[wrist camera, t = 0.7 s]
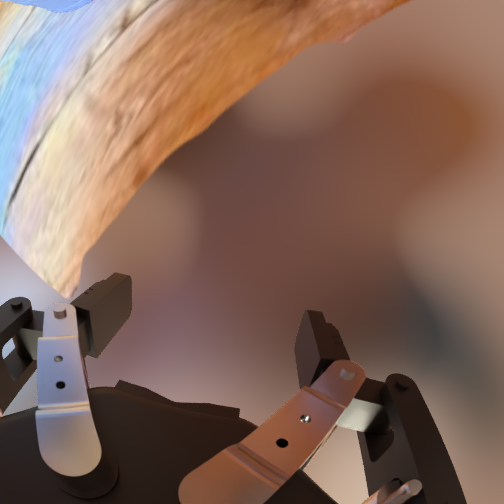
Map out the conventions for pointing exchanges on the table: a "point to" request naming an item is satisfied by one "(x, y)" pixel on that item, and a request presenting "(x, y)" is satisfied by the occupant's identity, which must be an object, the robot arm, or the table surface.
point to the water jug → (54, 4)
